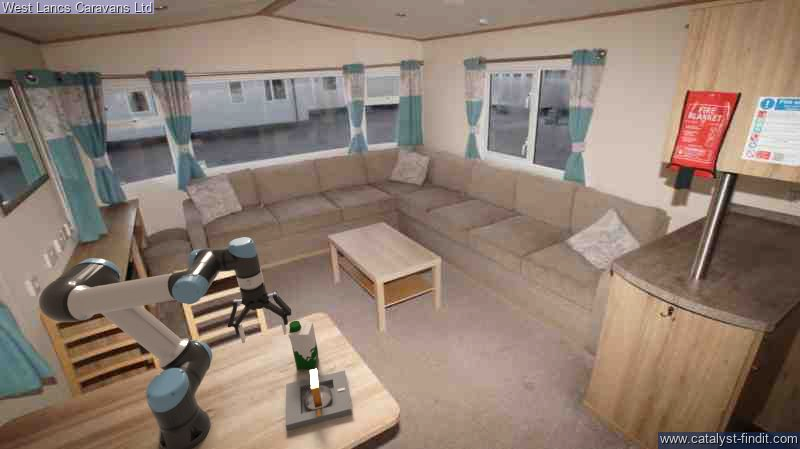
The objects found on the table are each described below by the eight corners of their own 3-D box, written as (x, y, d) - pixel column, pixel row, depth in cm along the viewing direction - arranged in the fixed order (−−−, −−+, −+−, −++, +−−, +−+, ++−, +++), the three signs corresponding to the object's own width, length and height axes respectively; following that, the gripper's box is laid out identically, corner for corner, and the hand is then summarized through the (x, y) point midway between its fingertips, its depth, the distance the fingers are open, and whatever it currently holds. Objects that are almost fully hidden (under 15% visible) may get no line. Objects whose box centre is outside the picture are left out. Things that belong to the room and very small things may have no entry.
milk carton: (299, 355, 158) (291, 316, 150) (321, 355, 158) (314, 316, 150) (294, 371, 150) (285, 331, 142) (316, 371, 150) (309, 331, 142)
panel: (286, 430, 127) (285, 424, 125) (287, 388, 143) (286, 383, 141) (352, 413, 131) (351, 407, 130) (345, 375, 147) (344, 369, 146)
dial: (303, 392, 140) (299, 370, 136) (330, 385, 142) (327, 364, 138) (304, 414, 131) (299, 392, 127) (333, 407, 133) (329, 385, 129)
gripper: (207, 298, 115) (224, 351, 124) (291, 283, 121) (302, 335, 129) (212, 284, 122) (227, 336, 131) (291, 271, 127) (301, 322, 136)
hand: (264, 336), depth 130 cm, fingers open, 13 cm apart
